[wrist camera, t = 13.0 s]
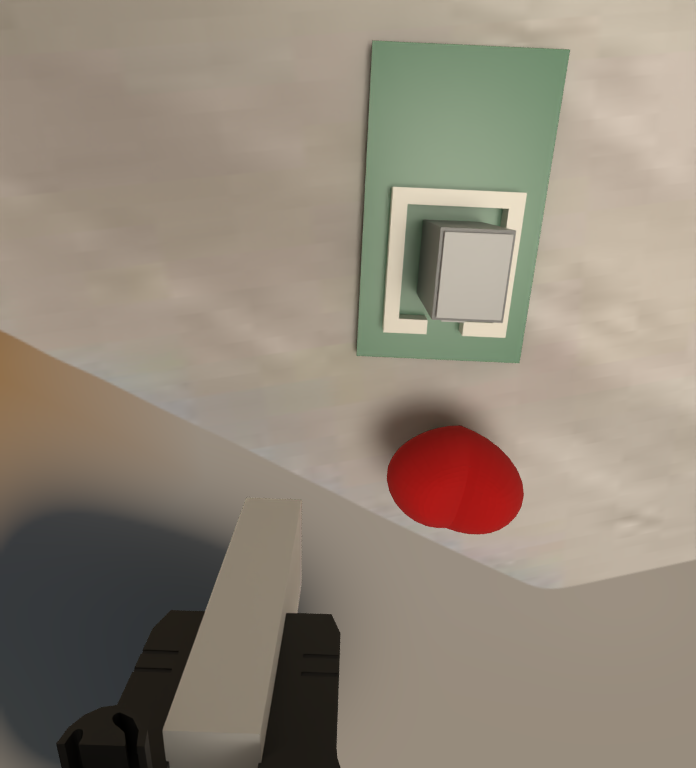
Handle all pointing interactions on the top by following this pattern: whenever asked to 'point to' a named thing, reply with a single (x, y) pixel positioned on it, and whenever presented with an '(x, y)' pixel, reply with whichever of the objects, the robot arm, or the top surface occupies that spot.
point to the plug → (464, 270)
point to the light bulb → (455, 481)
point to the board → (453, 183)
